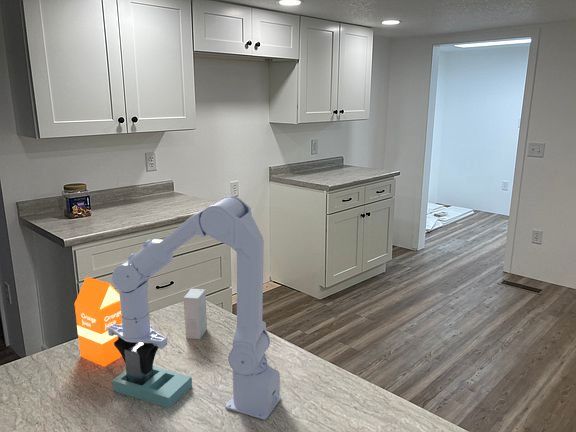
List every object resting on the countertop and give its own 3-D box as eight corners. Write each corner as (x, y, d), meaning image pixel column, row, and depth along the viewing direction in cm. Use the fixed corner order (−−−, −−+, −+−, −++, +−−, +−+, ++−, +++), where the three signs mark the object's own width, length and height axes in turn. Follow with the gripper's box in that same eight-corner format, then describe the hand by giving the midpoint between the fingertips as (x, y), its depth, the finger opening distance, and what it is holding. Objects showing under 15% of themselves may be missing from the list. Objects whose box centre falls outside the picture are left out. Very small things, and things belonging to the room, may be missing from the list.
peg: (153, 376, 106) (151, 344, 104) (141, 386, 102) (139, 353, 100) (139, 372, 108) (136, 340, 106) (127, 381, 104) (124, 349, 102)
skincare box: (192, 327, 131) (190, 288, 128) (207, 329, 130) (205, 289, 127) (185, 338, 125) (182, 297, 122) (200, 340, 125) (198, 298, 122)
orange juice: (104, 367, 112) (96, 289, 107) (79, 356, 116) (71, 281, 111) (129, 351, 119) (123, 278, 114) (105, 342, 123) (98, 271, 118)
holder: (191, 386, 105) (191, 376, 104) (169, 408, 98) (168, 398, 97) (138, 370, 111) (137, 361, 110) (113, 390, 103) (112, 380, 103)
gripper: (174, 312, 102) (177, 367, 105) (122, 300, 107) (126, 353, 111) (153, 326, 95) (157, 385, 99) (98, 313, 101) (104, 369, 104)
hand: (139, 369), depth 104 cm, fingers closed on peg, 4 cm apart
